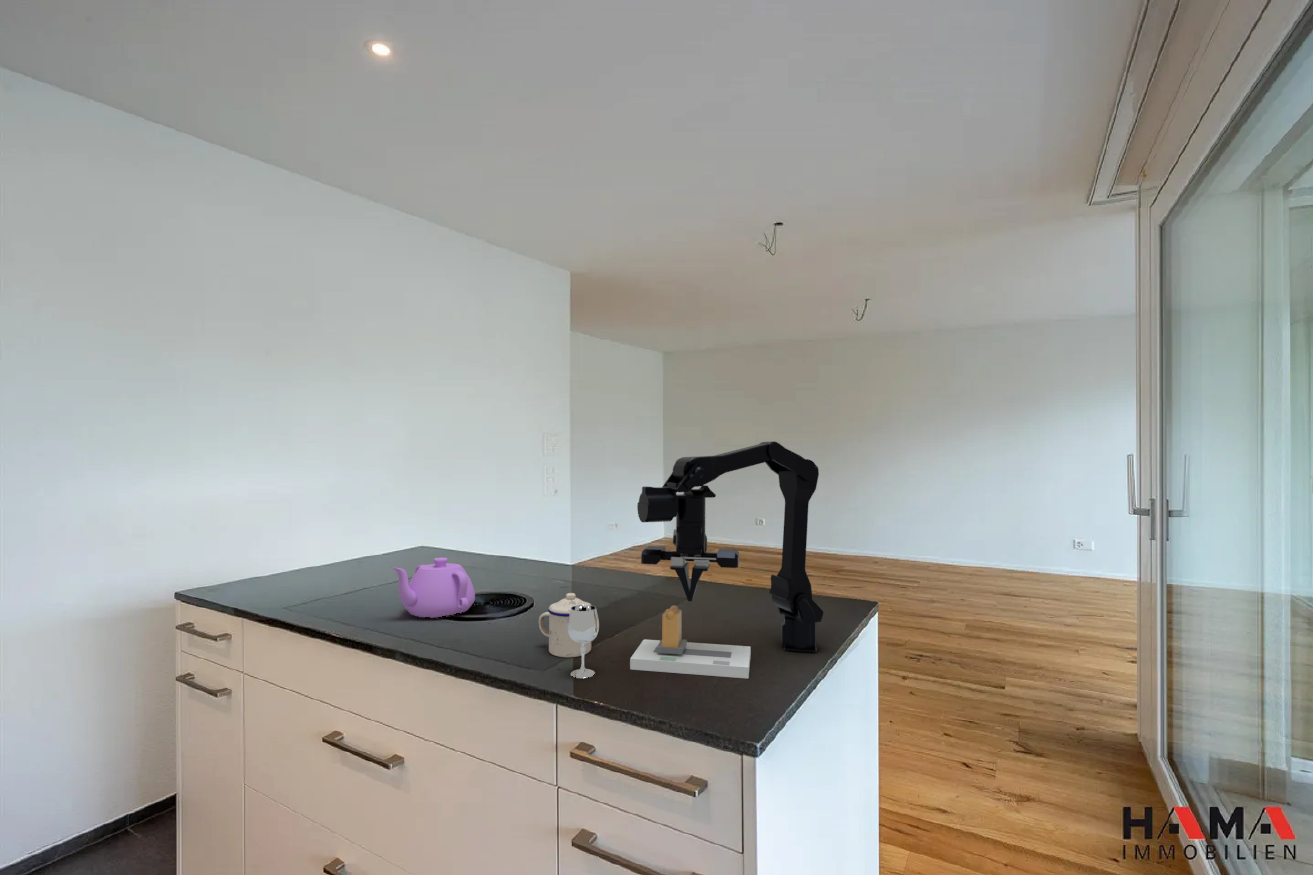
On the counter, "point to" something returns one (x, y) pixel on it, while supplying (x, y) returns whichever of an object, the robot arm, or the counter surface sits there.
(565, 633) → the teacup with lid
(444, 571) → the teapot
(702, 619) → the counter surface
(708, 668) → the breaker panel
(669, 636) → the toggle
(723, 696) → the counter surface
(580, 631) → the wineglass
